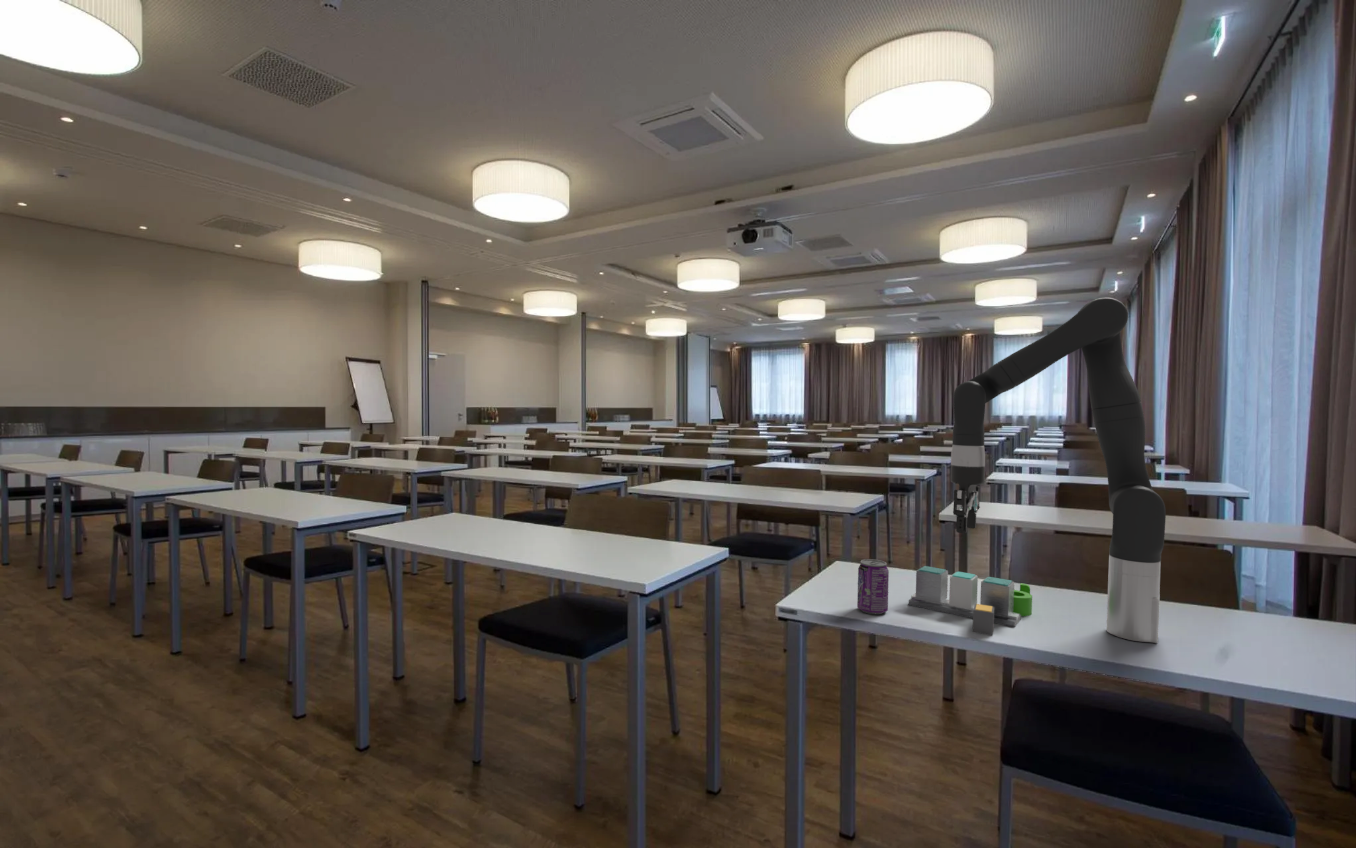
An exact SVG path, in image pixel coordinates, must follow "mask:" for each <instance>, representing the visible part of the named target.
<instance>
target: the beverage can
mask: <svg viewBox="0 0 1356 848" xmlns="http://www.w3.org/2000/svg"><path fill="white" fill-rule="evenodd" d="M887 565H888V564H887V562H886V561H883V560H880V559H871V558H869V559H867V558H866V559H861V560H860V564H859V566H858V571H857V598H856V599H857V609H858V610H860V611H861V612H863V613H864V614H869V615H882V614H883V613H886V612H887V611H888V610H889V577H890V576H889V575H890V574H889V573H890V572H889V571H890V570H889V569H888V566H887Z"/></svg>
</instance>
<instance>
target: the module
mask: <svg viewBox="0 0 1356 848" xmlns="http://www.w3.org/2000/svg"><path fill="white" fill-rule="evenodd" d="M978 580H979V577H978V575H976V574H974V573H969V572H963V571H959V570H958V571H956V572H954V573H953V574H951V575H950V576H949V599H948V600H949V605H952V606H957V607H962V608H967V609H972V608H973V607H974V606H975V604H978V582H979V581H978Z"/></svg>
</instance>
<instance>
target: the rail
mask: <svg viewBox="0 0 1356 848" xmlns="http://www.w3.org/2000/svg"><path fill="white" fill-rule="evenodd" d="M915 571H916V573H915V574H916V575H915V576H916V577H915V593H913V594H912V595H911V596H910V599H908V605H909V606H913V607H916V608H917V607H918V608H921V609H922V608H923V609H926V610H932V611H936V612H941V613H946V614H951V615H955V616H960V617H964V618H969V619H973V609H974V607H973V608H972V609H967V608H962V607H957V606H952V605H949V599H948V587H949V585H948V583H949V581H948V579H949V578H948V577H949V570H948V569H947V570H946V568H945V569H944V568H938V567H934V566H928V565H924V566H921V567H920V568H919V569H917V570H915ZM1014 590H1015V581H1013V580H1010V579H1006V578H998V577H993V576H987V577H985V578H984V579H983V580H982V581H980V602H979V604H981V605H987V606H992V607H994V624H998V625H1002V626H1003V625H1004V626H1007V627H1011V628H1012V627H1014V628H1015V627H1016V626H1017V625H1018V624H1019V622H1020V621H1022V616H1021V614H1018V613H1013V609H1014Z"/></svg>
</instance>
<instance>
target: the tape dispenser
mask: <svg viewBox="0 0 1356 848" xmlns="http://www.w3.org/2000/svg"><path fill="white" fill-rule="evenodd" d="M1032 612H1033V595H1032V594H1031V586H1030V585H1029V584H1027V583H1020V585H1019V590H1018V589H1014V609H1013V613H1018V614H1021V617H1029V616H1031V615H1032V614H1033V613H1032Z"/></svg>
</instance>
